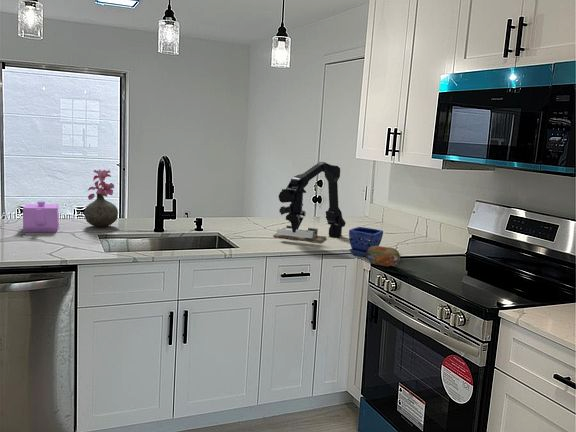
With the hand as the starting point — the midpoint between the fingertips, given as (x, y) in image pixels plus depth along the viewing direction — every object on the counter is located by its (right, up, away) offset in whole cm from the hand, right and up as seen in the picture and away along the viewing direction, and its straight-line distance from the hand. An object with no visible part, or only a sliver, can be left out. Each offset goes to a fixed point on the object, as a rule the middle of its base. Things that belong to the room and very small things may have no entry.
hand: (294, 231), depth 276 cm
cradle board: (+3, -4, +12) cm, 13 cm away
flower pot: (+33, -11, -16) cm, 38 cm away
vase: (-102, +2, +8) cm, 103 cm away
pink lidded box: (-126, +1, -7) cm, 127 cm away
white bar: (0, -2, 0) cm, 2 cm away
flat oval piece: (+39, -14, -35) cm, 54 cm away
